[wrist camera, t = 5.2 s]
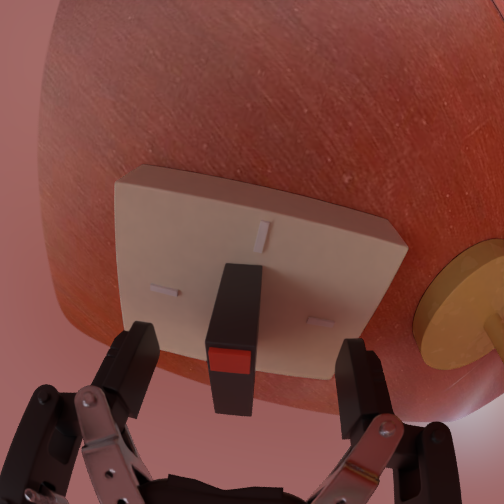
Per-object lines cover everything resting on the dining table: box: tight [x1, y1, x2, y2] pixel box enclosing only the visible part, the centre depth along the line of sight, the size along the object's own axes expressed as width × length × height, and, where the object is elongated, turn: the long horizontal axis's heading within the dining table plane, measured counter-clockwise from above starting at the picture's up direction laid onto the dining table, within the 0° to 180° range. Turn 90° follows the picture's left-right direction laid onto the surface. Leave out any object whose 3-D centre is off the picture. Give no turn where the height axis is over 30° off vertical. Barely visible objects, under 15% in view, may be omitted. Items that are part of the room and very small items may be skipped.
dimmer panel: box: [115, 164, 408, 380], centre depth 15 cm, size 13×10×3 cm
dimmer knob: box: [205, 263, 263, 416], centre depth 11 cm, size 5×2×5 cm, turn 178°
